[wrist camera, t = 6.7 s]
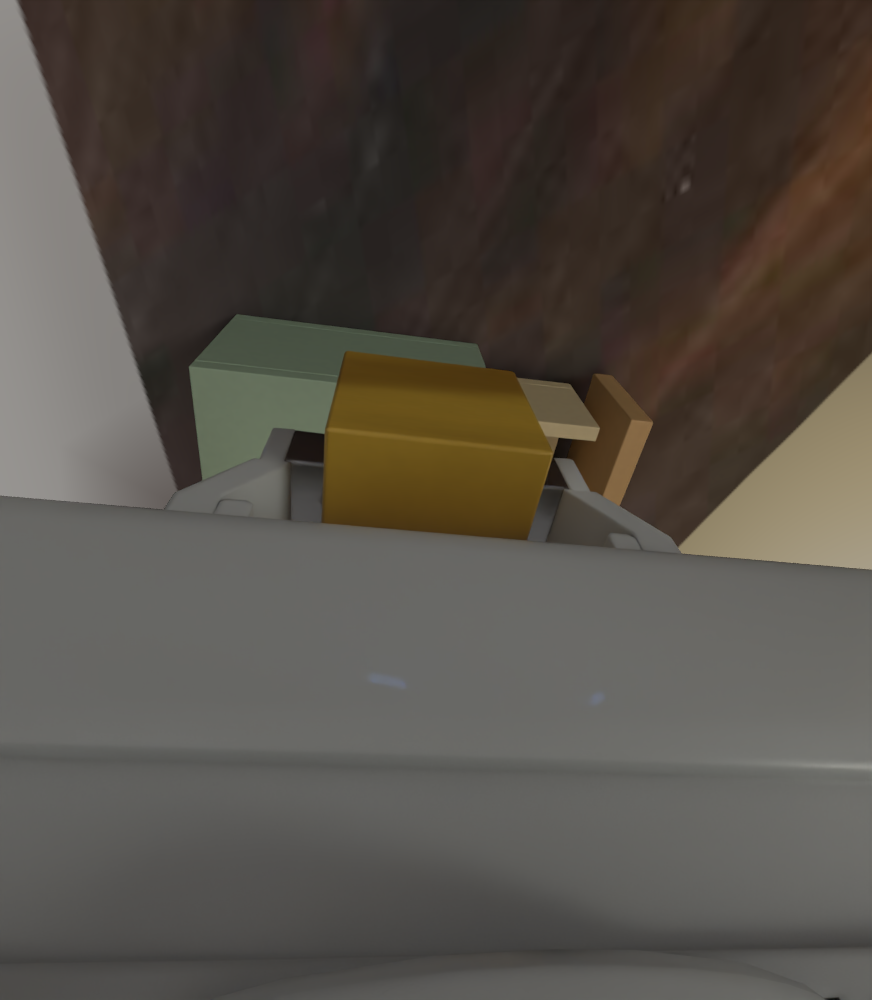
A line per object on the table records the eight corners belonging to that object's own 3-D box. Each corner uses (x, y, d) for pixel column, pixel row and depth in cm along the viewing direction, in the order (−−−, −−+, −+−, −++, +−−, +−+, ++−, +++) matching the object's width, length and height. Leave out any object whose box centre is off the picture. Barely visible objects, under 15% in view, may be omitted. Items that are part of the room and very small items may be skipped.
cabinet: (477, 343, 31) (498, 400, 24) (447, 505, 38) (457, 586, 31) (236, 313, 29) (187, 366, 23) (247, 488, 36) (212, 569, 29)
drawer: (631, 377, 32) (676, 424, 27) (581, 517, 38) (609, 578, 32) (403, 350, 30) (403, 394, 25) (386, 500, 36) (384, 562, 31)
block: (344, 349, 13) (324, 428, 10) (514, 370, 14) (555, 452, 10) (336, 494, 16) (318, 601, 12) (482, 507, 16) (506, 613, 13)
